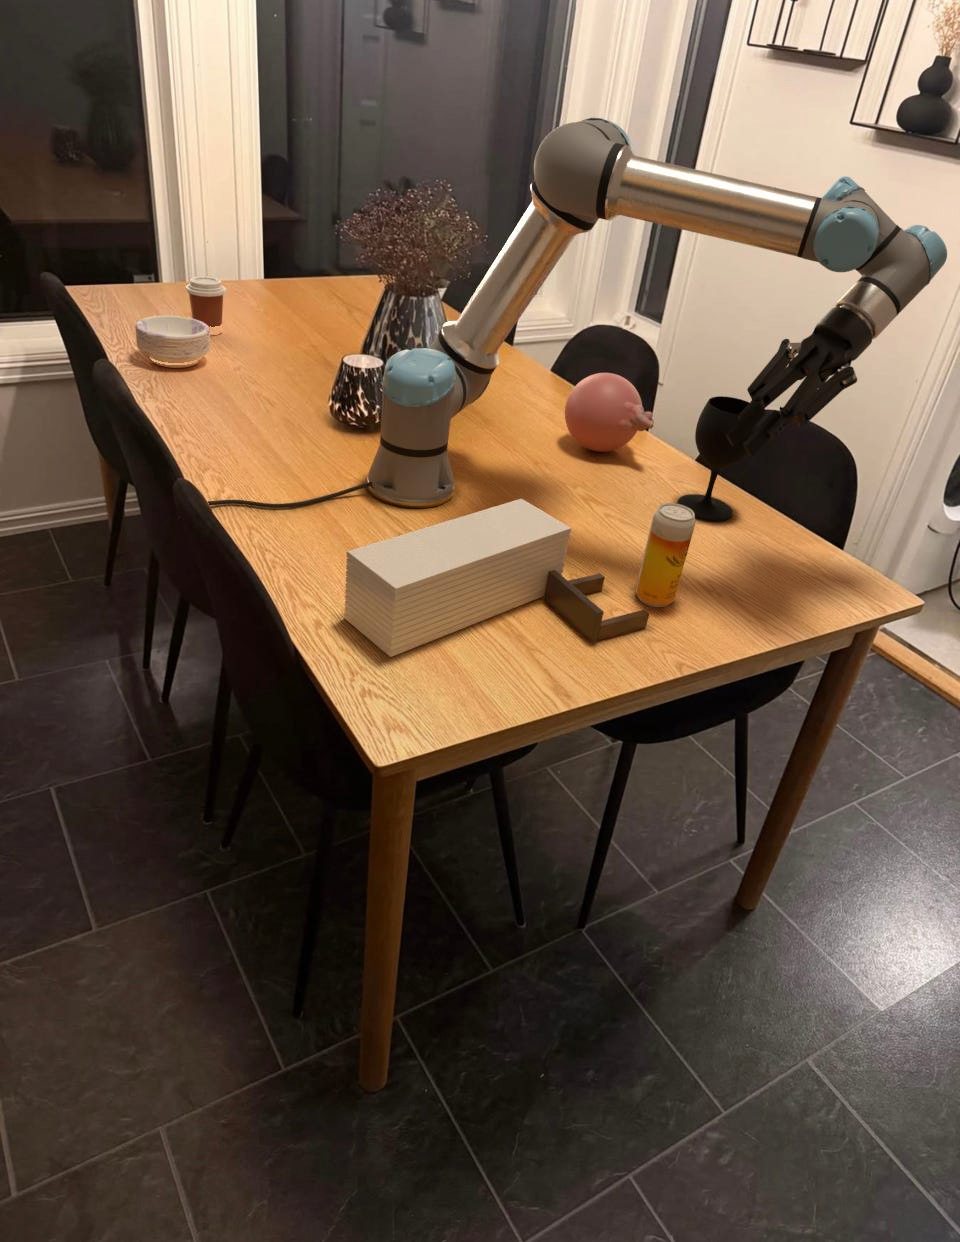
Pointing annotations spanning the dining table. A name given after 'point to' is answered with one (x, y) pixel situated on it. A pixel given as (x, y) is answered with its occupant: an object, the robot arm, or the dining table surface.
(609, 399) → the balloon
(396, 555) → the stack of papers
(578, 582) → the brown wooden u-shaped frame
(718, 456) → the wine glass
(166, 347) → the paper bowls
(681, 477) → the dining table surface
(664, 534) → the beer can
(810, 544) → the dining table surface
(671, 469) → the dining table surface
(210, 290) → the coffee cup
